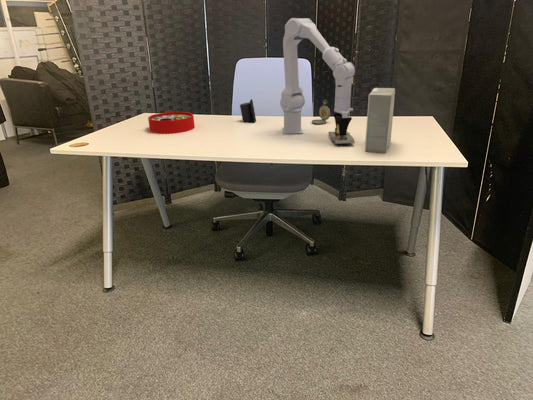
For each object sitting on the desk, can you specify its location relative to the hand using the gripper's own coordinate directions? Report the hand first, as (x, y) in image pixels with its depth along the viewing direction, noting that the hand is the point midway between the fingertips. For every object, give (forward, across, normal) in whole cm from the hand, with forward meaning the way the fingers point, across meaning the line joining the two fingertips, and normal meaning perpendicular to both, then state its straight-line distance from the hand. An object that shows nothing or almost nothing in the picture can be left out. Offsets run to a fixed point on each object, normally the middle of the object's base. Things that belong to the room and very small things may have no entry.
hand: (340, 132), depth 152 cm
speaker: (+3, +37, +38) cm, 53 cm away
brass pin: (+3, 0, 0) cm, 3 cm away
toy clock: (+3, +26, +72) cm, 77 cm away
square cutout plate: (+3, 0, 0) cm, 3 cm away
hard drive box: (+3, -10, -12) cm, 16 cm away
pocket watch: (+3, +31, +4) cm, 31 cm away
